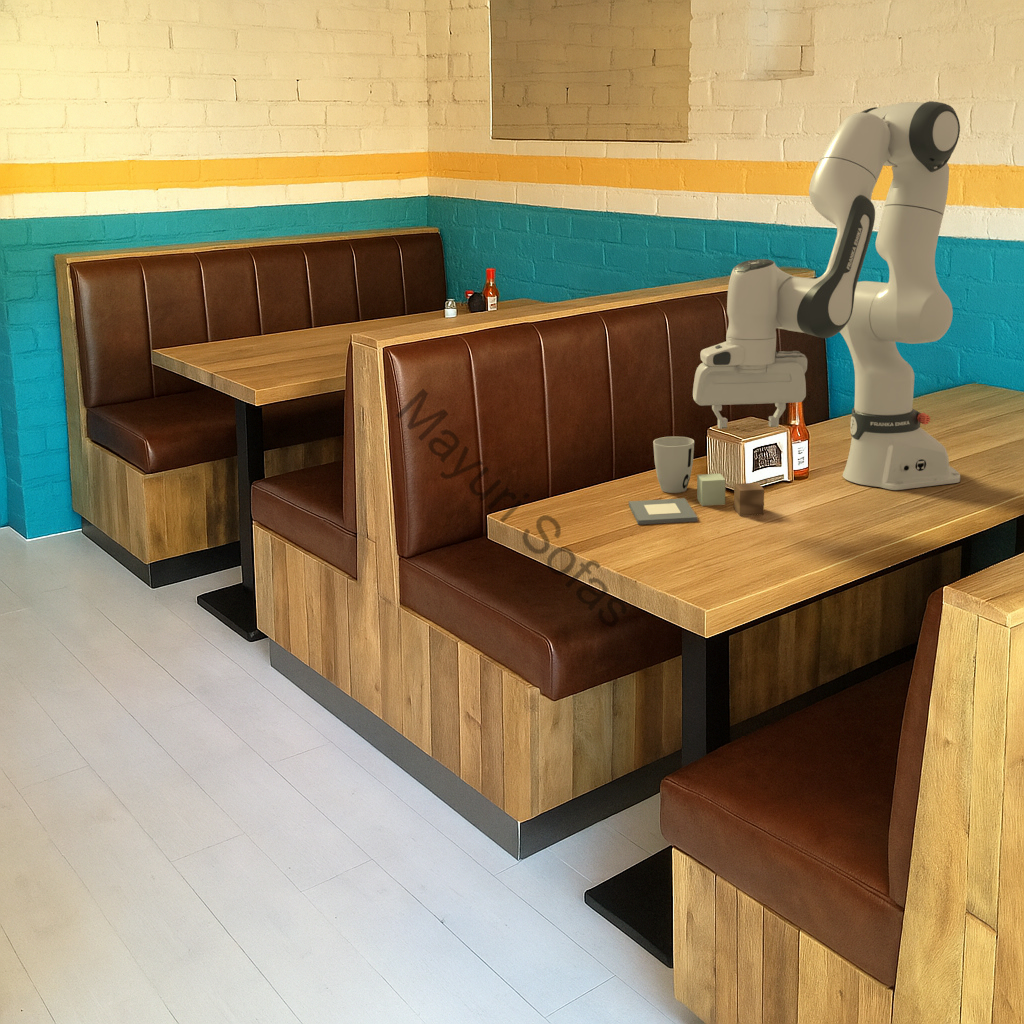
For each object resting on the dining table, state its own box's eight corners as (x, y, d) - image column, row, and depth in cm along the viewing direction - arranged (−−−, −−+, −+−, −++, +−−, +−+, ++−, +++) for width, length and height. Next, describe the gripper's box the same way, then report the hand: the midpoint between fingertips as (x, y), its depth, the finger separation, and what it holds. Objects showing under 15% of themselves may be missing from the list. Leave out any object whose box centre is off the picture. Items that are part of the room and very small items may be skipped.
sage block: (719, 497, 222) (720, 473, 221) (725, 504, 218) (725, 479, 216) (697, 499, 222) (697, 474, 221) (701, 506, 218) (702, 481, 216)
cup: (692, 495, 224) (693, 446, 221) (651, 494, 226) (651, 446, 223) (694, 483, 232) (695, 436, 229) (655, 483, 233) (654, 436, 230)
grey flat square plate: (684, 502, 220) (684, 497, 220) (697, 521, 209) (697, 516, 209) (628, 505, 220) (628, 501, 220) (638, 524, 208) (638, 520, 208)
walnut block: (757, 507, 215) (757, 482, 214) (763, 515, 211) (764, 489, 209) (733, 509, 215) (734, 483, 214) (739, 516, 211) (740, 490, 209)
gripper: (803, 347, 207) (799, 421, 212) (691, 351, 207) (690, 425, 211) (812, 353, 201) (808, 429, 205) (698, 357, 201) (696, 433, 205)
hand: (747, 427), depth 208 cm, fingers open, 8 cm apart
